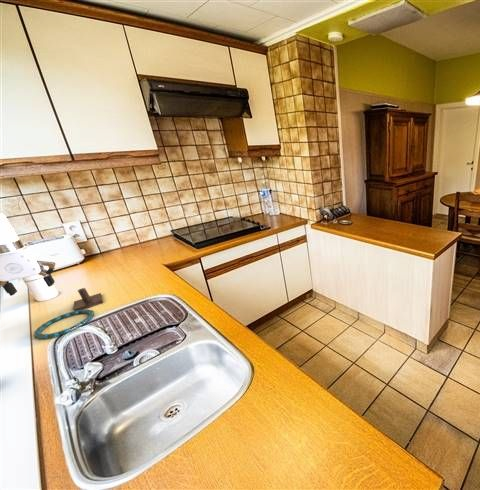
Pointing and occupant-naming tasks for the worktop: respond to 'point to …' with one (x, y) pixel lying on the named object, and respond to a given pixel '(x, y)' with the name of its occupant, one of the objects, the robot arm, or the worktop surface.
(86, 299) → the stand
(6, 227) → the robot arm
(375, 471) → the worktop surface
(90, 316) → the ring
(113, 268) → the worktop surface
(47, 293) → the cylindrical container
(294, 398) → the worktop surface
